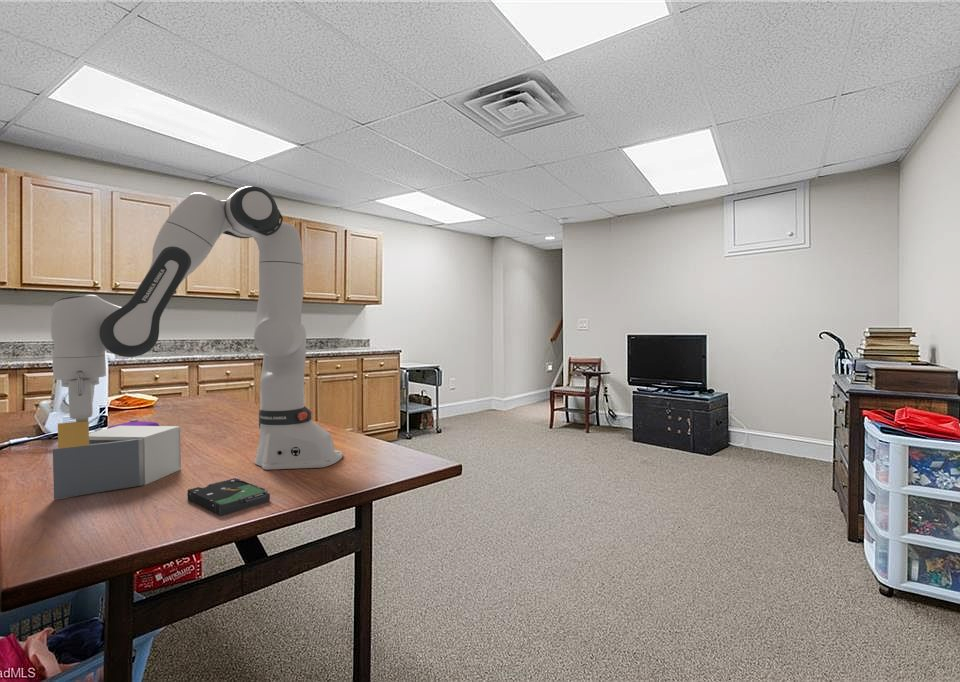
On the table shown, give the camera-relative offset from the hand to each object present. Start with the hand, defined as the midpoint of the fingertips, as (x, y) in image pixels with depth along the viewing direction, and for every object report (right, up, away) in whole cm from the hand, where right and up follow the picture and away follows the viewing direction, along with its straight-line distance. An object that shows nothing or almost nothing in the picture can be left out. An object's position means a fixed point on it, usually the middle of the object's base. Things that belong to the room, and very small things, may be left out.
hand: (83, 433), depth 106 cm
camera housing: (+2, -13, +12) cm, 17 cm away
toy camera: (-8, -13, +28) cm, 32 cm away
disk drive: (+34, -14, -4) cm, 37 cm away
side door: (+4, -13, 0) cm, 13 cm away
